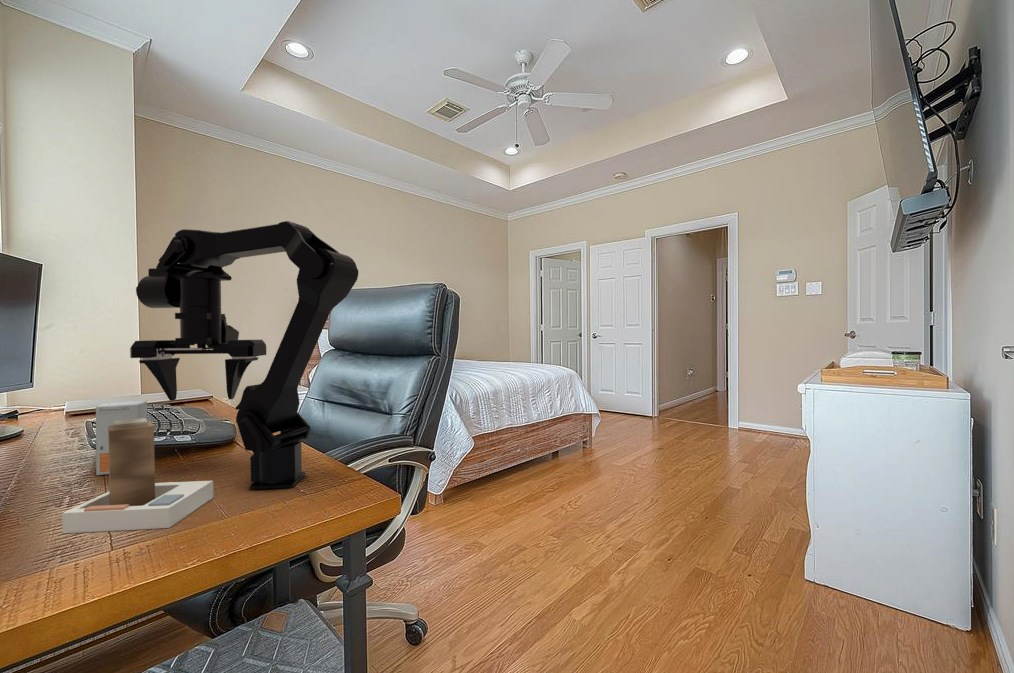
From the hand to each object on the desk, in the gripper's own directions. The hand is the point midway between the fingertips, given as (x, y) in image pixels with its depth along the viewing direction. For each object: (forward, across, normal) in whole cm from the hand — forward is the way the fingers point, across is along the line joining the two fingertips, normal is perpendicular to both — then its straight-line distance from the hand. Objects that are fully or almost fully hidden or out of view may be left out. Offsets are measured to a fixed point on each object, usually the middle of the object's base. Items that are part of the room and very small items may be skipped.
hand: (202, 399), depth 74 cm
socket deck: (+13, -1, +16) cm, 20 cm away
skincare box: (+13, +16, -5) cm, 21 cm away
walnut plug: (+13, 0, +16) cm, 20 cm away
